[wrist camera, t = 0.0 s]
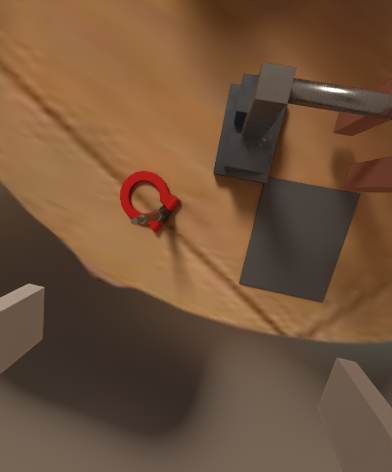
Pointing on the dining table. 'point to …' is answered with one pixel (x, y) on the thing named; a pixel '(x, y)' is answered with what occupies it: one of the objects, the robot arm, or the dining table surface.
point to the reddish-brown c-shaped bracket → (370, 172)
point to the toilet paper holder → (280, 116)
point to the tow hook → (156, 216)
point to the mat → (297, 238)
